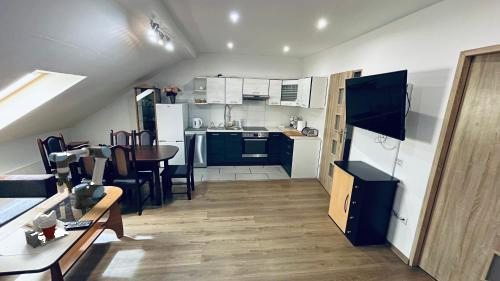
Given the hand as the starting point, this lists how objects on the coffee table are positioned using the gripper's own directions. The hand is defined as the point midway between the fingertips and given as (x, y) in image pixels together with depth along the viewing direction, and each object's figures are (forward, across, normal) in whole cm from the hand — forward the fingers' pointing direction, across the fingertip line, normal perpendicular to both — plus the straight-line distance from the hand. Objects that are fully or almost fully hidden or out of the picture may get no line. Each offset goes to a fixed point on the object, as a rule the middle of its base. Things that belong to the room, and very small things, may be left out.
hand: (66, 194), depth 185 cm
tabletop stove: (+29, +8, -19) cm, 36 cm away
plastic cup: (+28, +8, -17) cm, 34 cm away
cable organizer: (+29, -13, -12) cm, 34 cm away
